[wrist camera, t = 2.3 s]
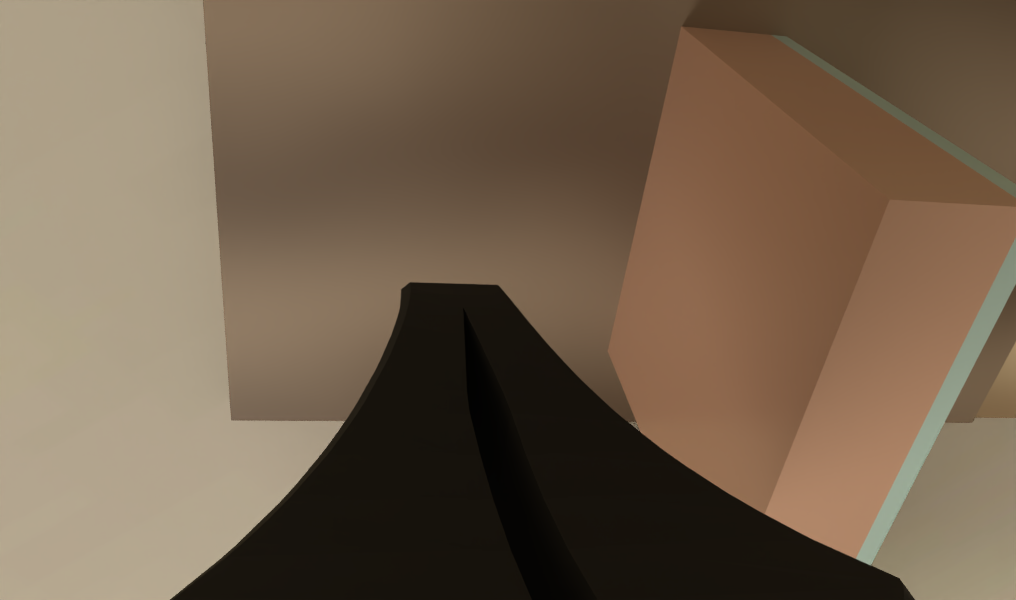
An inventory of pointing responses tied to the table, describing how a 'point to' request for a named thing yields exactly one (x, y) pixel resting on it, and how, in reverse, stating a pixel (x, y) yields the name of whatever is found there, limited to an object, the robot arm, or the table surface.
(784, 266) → the tile
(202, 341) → the table surface
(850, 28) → the board
